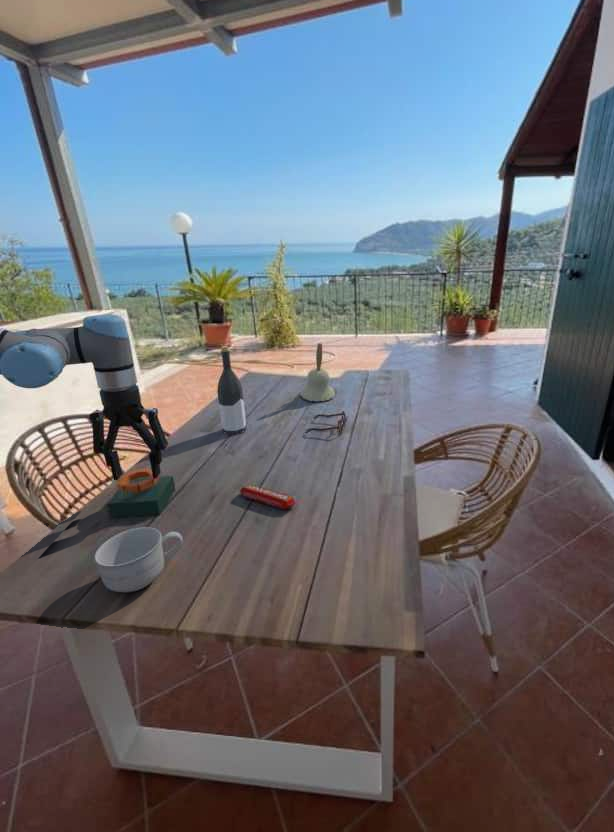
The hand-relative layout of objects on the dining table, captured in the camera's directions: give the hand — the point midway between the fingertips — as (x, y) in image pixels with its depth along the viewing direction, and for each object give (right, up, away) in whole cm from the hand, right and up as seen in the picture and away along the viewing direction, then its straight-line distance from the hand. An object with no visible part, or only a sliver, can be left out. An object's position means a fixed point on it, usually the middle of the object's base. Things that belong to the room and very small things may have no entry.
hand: (137, 476), depth 93 cm
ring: (0, -2, +1) cm, 2 cm away
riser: (0, -7, +3) cm, 8 cm away
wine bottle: (+9, +7, +44) cm, 45 cm away
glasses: (+41, +8, +45) cm, 62 cm away
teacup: (+13, -15, -20) cm, 28 cm away
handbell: (+35, +20, +77) cm, 87 cm away
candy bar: (+30, -7, +3) cm, 31 cm away
